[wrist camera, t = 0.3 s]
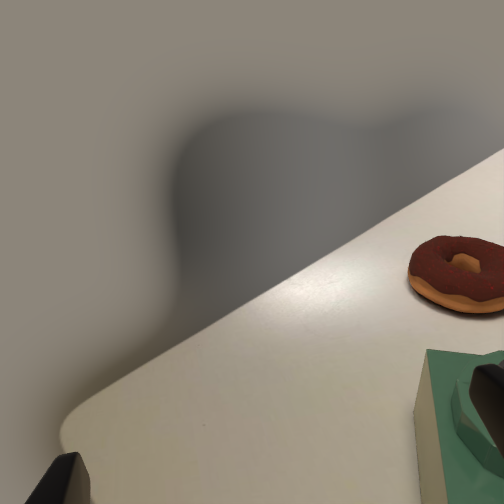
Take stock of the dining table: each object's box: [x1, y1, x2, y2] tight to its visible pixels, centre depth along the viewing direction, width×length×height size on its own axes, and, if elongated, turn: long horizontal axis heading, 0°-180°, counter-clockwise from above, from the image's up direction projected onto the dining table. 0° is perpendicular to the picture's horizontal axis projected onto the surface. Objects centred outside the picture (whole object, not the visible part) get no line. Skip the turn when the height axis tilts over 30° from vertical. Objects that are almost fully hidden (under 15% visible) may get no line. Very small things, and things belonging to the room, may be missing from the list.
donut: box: [408, 236, 504, 313], centre depth 41 cm, size 10×10×4 cm
